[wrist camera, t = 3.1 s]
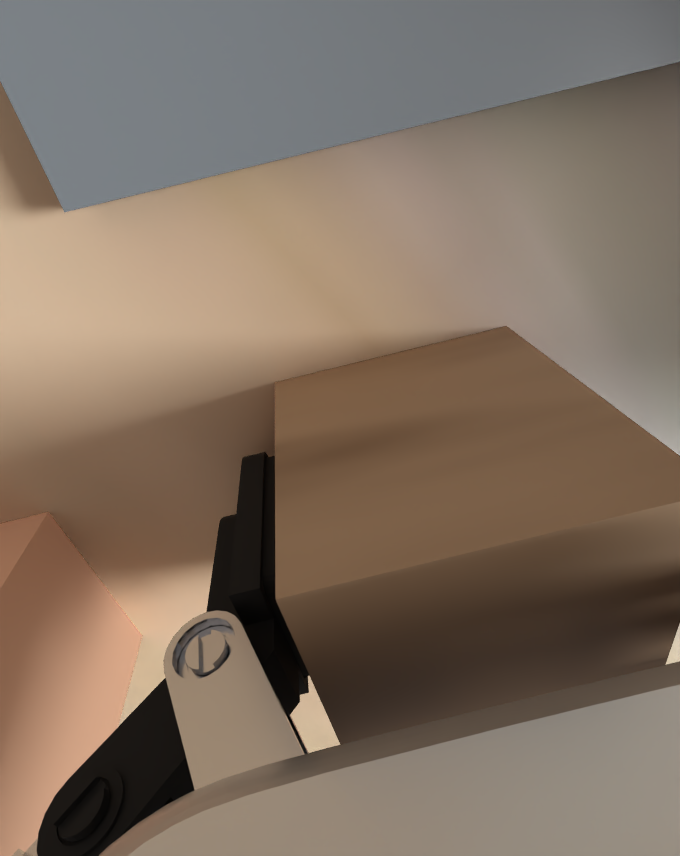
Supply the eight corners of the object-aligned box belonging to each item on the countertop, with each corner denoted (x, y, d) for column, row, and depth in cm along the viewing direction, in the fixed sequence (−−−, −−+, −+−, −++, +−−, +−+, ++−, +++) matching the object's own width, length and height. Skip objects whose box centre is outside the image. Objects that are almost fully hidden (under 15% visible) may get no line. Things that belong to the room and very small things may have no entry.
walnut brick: (505, 500, 13) (648, 713, 8) (326, 543, 13) (358, 783, 8) (505, 325, 10) (726, 490, 5) (274, 381, 10) (276, 598, 5)
